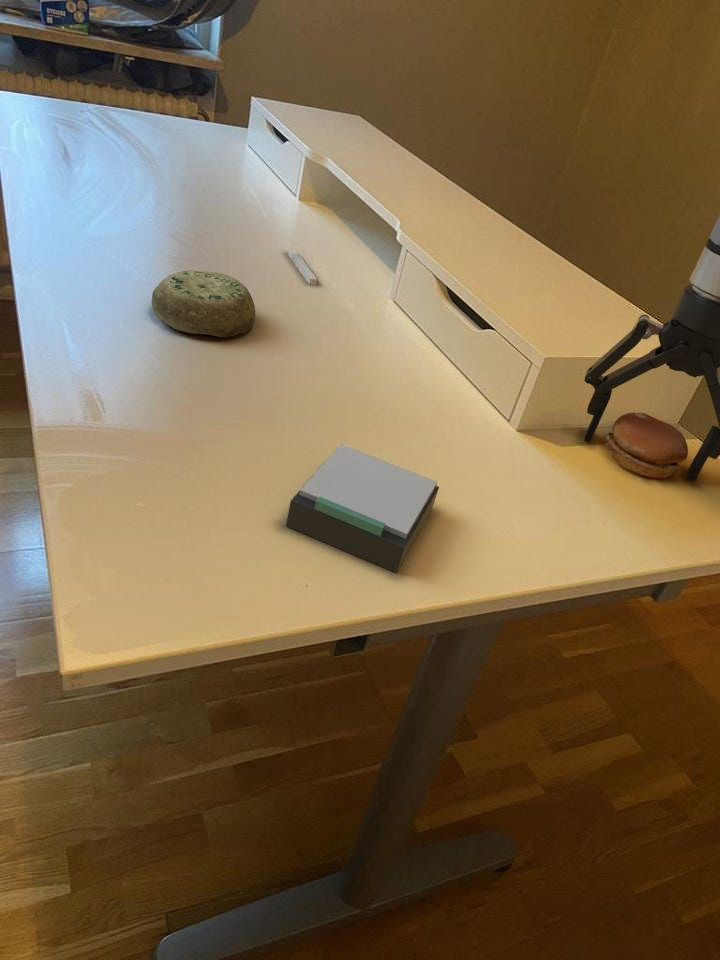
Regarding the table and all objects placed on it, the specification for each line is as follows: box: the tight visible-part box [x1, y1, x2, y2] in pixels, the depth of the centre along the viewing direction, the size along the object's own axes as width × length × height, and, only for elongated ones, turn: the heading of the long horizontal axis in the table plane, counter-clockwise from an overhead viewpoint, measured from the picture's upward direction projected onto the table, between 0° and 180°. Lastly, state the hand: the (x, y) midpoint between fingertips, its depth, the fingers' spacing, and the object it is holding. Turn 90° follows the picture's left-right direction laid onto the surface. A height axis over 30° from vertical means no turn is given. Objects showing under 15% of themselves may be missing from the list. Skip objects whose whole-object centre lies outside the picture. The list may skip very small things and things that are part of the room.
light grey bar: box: [287, 249, 318, 286], centre depth 122 cm, size 12×1×1 cm, turn 20°
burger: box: [604, 411, 689, 479], centre depth 91 cm, size 10×9×5 cm
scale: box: [285, 443, 440, 574], centre depth 70 cm, size 11×11×4 cm
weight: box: [151, 269, 256, 338], centre depth 98 cm, size 14×13×5 cm
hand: (638, 456), depth 92 cm, fingers open, 12 cm apart
